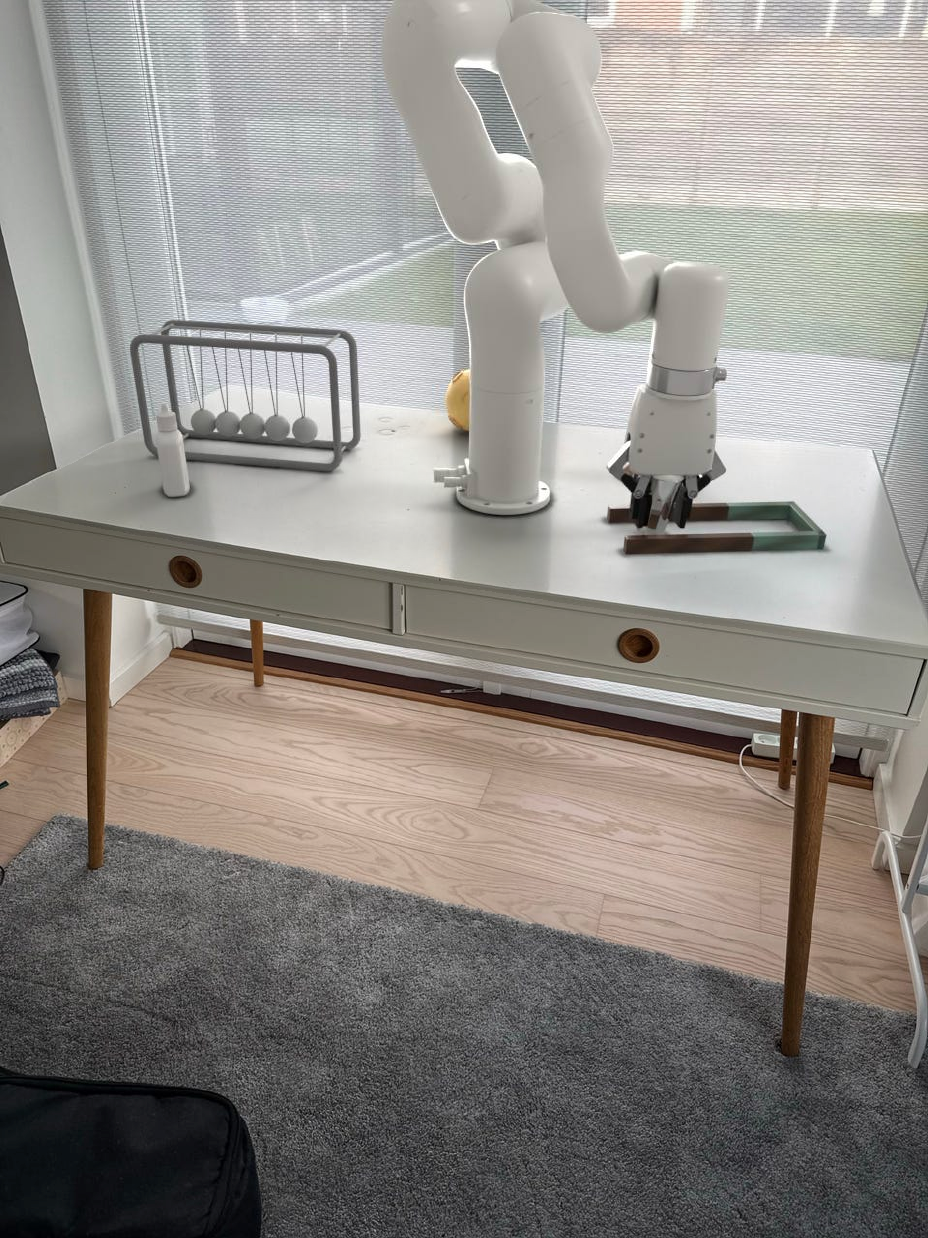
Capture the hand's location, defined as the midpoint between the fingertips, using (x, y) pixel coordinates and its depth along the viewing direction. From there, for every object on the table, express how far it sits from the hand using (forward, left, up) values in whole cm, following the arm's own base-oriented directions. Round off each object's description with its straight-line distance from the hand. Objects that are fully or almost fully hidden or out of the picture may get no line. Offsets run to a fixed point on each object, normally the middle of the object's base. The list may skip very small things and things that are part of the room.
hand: (658, 522), depth 118 cm
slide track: (+7, 0, -2) cm, 7 cm away
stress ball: (-19, +41, -2) cm, 45 cm away
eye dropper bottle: (-62, +18, -2) cm, 64 cm away
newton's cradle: (-53, +32, -2) cm, 62 cm away
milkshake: (0, 0, -2) cm, 2 cm away
